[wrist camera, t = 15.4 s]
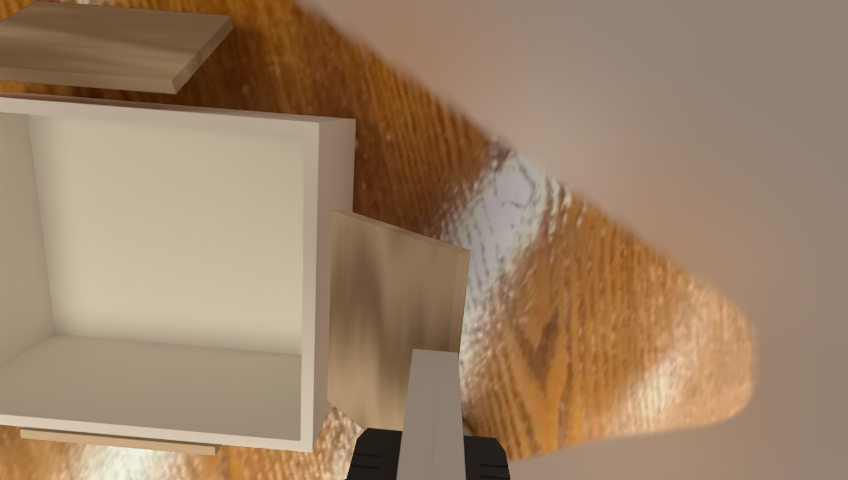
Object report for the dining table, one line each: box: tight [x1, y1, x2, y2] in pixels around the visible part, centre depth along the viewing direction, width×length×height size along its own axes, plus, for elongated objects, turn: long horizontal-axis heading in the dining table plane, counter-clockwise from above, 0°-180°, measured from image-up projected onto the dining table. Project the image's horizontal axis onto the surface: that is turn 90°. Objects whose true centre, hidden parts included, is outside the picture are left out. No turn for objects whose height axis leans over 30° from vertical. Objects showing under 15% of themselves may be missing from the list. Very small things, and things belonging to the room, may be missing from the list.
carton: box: [0, 92, 356, 455], centre depth 27 cm, size 17×21×9 cm
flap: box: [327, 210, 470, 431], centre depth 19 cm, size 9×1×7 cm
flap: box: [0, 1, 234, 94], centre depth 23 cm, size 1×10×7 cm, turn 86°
